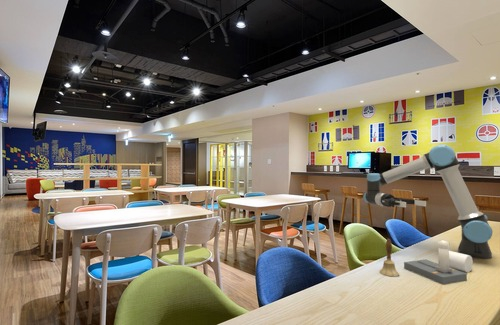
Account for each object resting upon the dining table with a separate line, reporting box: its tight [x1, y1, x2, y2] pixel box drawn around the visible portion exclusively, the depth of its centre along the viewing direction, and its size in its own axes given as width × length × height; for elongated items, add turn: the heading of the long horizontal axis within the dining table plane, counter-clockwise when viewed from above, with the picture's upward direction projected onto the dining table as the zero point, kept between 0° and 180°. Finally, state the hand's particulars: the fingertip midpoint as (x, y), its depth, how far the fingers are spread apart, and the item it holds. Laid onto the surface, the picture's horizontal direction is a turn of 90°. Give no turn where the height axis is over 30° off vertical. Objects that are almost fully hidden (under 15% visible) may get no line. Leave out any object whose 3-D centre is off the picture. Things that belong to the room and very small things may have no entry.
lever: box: [436, 239, 453, 273], centre depth 127 cm, size 5×5×14 cm
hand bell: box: [379, 238, 400, 278], centre depth 133 cm, size 8×8×16 cm
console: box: [403, 259, 468, 285], centre depth 132 cm, size 14×20×3 cm
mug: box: [449, 250, 474, 273], centre depth 139 cm, size 12×10×8 cm
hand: (415, 204), depth 149 cm, fingers open, 13 cm apart
